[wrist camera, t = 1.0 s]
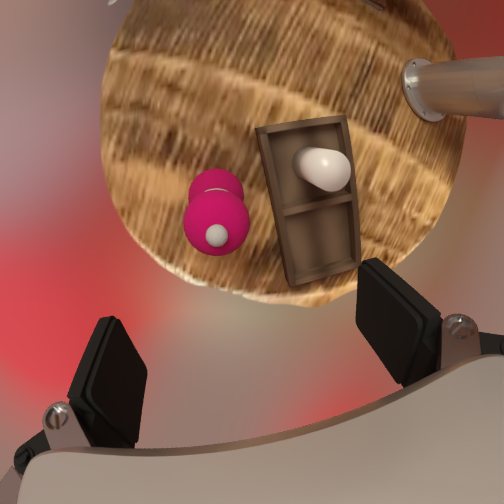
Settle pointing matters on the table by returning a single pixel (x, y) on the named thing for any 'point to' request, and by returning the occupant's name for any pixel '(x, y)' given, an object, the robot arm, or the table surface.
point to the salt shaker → (322, 167)
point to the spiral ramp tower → (377, 3)
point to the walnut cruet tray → (311, 201)
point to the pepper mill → (216, 213)
